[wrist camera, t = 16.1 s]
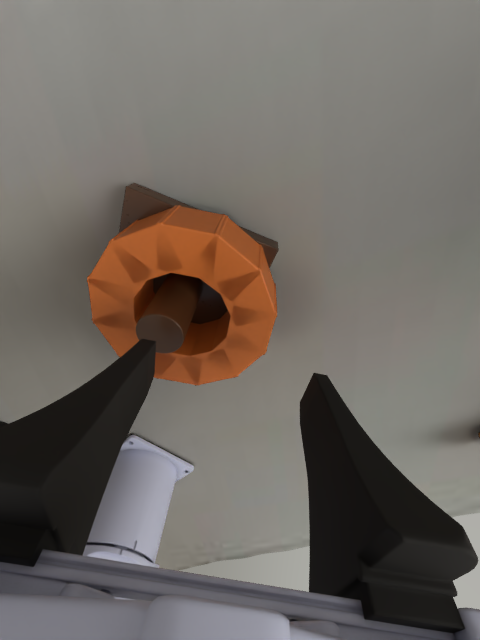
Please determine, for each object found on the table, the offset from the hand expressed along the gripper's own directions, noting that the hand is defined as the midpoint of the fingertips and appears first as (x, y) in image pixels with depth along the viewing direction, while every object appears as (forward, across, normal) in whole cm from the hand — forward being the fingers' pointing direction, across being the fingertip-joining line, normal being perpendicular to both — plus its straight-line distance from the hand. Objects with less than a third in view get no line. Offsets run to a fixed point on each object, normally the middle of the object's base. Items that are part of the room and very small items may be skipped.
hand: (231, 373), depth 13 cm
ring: (+7, +3, 0) cm, 8 cm away
